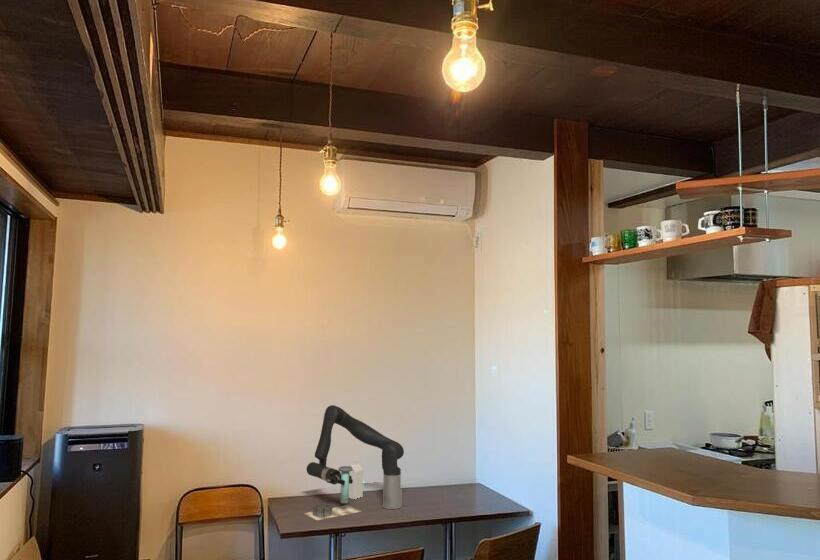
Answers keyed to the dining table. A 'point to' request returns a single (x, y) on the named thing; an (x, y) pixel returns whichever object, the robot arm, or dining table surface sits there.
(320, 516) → the eye board
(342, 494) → the wheel peg
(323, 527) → the dining table surface
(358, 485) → the milk carton
